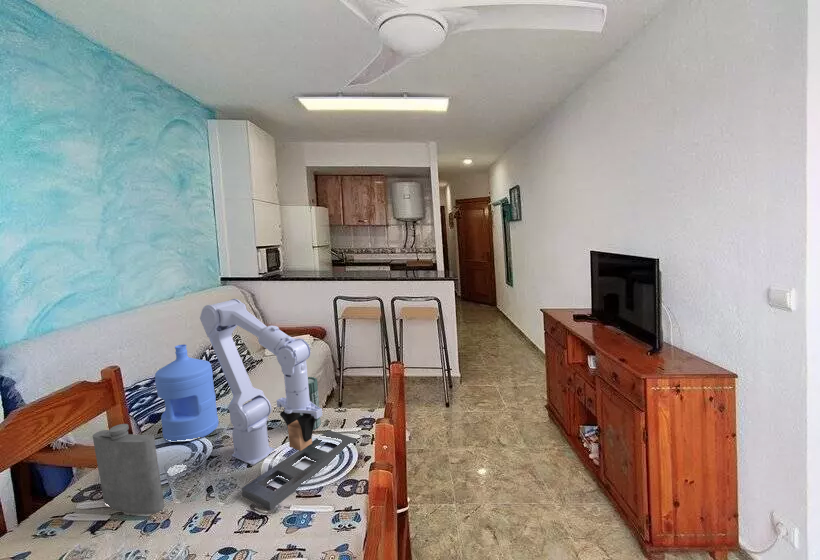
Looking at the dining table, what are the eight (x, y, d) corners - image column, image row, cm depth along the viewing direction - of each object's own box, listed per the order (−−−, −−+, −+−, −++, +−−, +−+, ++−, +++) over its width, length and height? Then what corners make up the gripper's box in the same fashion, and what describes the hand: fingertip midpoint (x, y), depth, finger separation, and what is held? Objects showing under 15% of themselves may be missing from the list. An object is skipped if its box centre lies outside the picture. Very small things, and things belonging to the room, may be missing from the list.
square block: (289, 446, 105) (287, 425, 104) (301, 439, 108) (299, 418, 107) (300, 450, 103) (298, 428, 102) (312, 443, 106) (310, 421, 105)
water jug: (194, 416, 139) (183, 337, 135) (229, 422, 134) (220, 340, 129) (151, 440, 125) (138, 352, 121) (189, 448, 119) (176, 356, 115)
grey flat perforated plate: (242, 495, 97) (241, 488, 97) (329, 436, 122) (329, 430, 122) (270, 509, 92) (269, 501, 91) (355, 444, 117) (355, 438, 117)
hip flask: (167, 505, 95) (155, 424, 92) (152, 517, 91) (140, 434, 88) (113, 496, 99) (100, 419, 96) (97, 508, 95) (83, 428, 92)
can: (306, 420, 133) (303, 376, 131) (323, 422, 131) (320, 377, 129) (297, 429, 127) (292, 384, 125) (314, 431, 125) (310, 385, 123)
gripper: (265, 388, 104) (270, 438, 106) (305, 399, 96) (310, 452, 99) (286, 378, 110) (291, 425, 112) (326, 388, 102) (330, 438, 104)
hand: (301, 437), depth 106 cm, fingers closed on square block, 4 cm apart
